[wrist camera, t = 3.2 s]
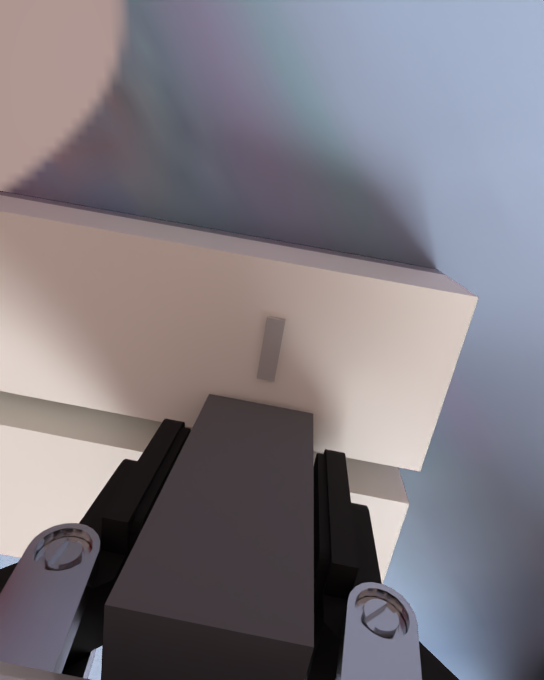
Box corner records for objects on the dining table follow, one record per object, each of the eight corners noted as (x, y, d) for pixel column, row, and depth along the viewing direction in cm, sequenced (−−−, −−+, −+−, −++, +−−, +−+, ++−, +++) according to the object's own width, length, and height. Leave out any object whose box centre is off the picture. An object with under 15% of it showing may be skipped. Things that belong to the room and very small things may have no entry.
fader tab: (292, 467, 17) (267, 809, 8) (214, 452, 17) (96, 772, 8) (313, 371, 15) (313, 646, 6) (228, 355, 15) (104, 605, 6)
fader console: (356, 540, 19) (368, 636, 15) (-215, 428, 20) (-351, 490, 16) (437, 269, 15) (483, 299, 11) (-287, 139, 16) (-494, 123, 12)
